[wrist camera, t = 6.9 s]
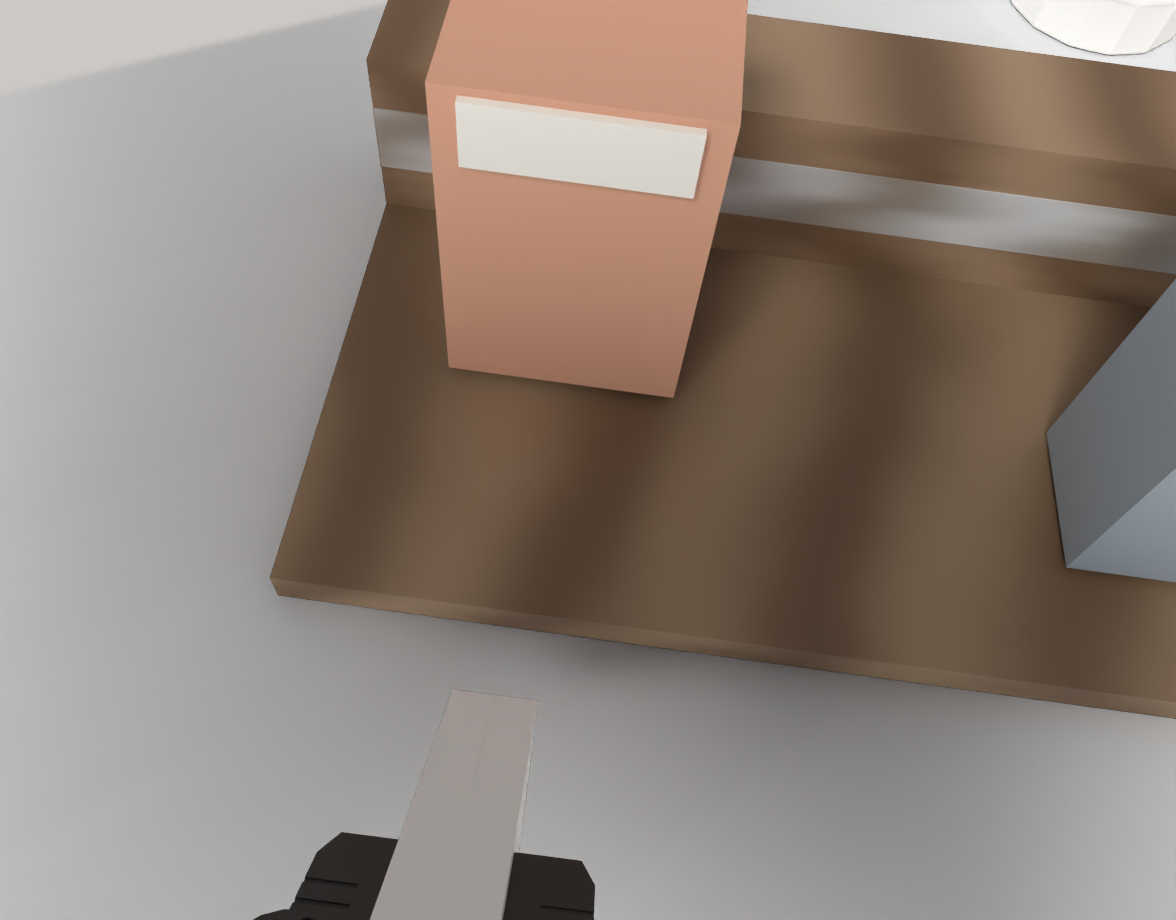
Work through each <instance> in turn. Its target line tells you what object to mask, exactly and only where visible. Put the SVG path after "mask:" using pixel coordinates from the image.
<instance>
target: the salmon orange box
mask: <svg viewBox="0 0 1176 920" xmlns="http://www.w3.org/2000/svg"><path fill="white" fill-rule="evenodd" d="M747 5H748V0H450V3H449V7H448V10H447V13H446V16H445V19H444V23H443V26H442V29H441V32H440V35H439V39H438V42H437V45H436V48H435V51H434V55H433V58H432V61H431V64H430V67H429V71H428V74H427V77H426V80H425V89H426V101H427V112H428V124H429V136H430V148H431V160H432V172H433V184H434V196H435V208H436V220H437V232H438V244H439V256H440V268H441V280H442V292H443V304H444V316H445V328H446V340H447V352H448V364H449V367H450V368H457V369H465V370H472V371H479V372H487V373H494V374H501V375H509V376H516V377H523V378H531V379H538V380H545V381H553V382H560V383H567V384H575V385H582V386H589V387H597V388H604V389H611V390H619V391H626V392H633V393H641V394H648V395H655V396H663V397H670V398H674V394H675V390H676V386H677V382H678V378H679V374H680V370H681V366H682V362H683V358H684V354H685V350H686V345H687V341H688V337H689V333H690V329H691V325H692V321H693V317H694V313H695V309H696V305H697V301H698V297H699V293H700V288H701V284H702V280H703V276H704V272H705V268H706V264H707V260H708V256H709V252H710V248H711V244H712V240H713V236H714V232H715V227H716V223H717V219H718V215H719V211H720V207H721V203H722V199H723V195H724V191H725V187H726V183H727V179H728V175H729V171H730V166H731V162H732V158H733V154H734V150H735V146H736V142H737V138H738V134H739V130H740V126H741V111H742V94H743V76H744V58H745V41H746V23H747Z"/></svg>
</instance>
